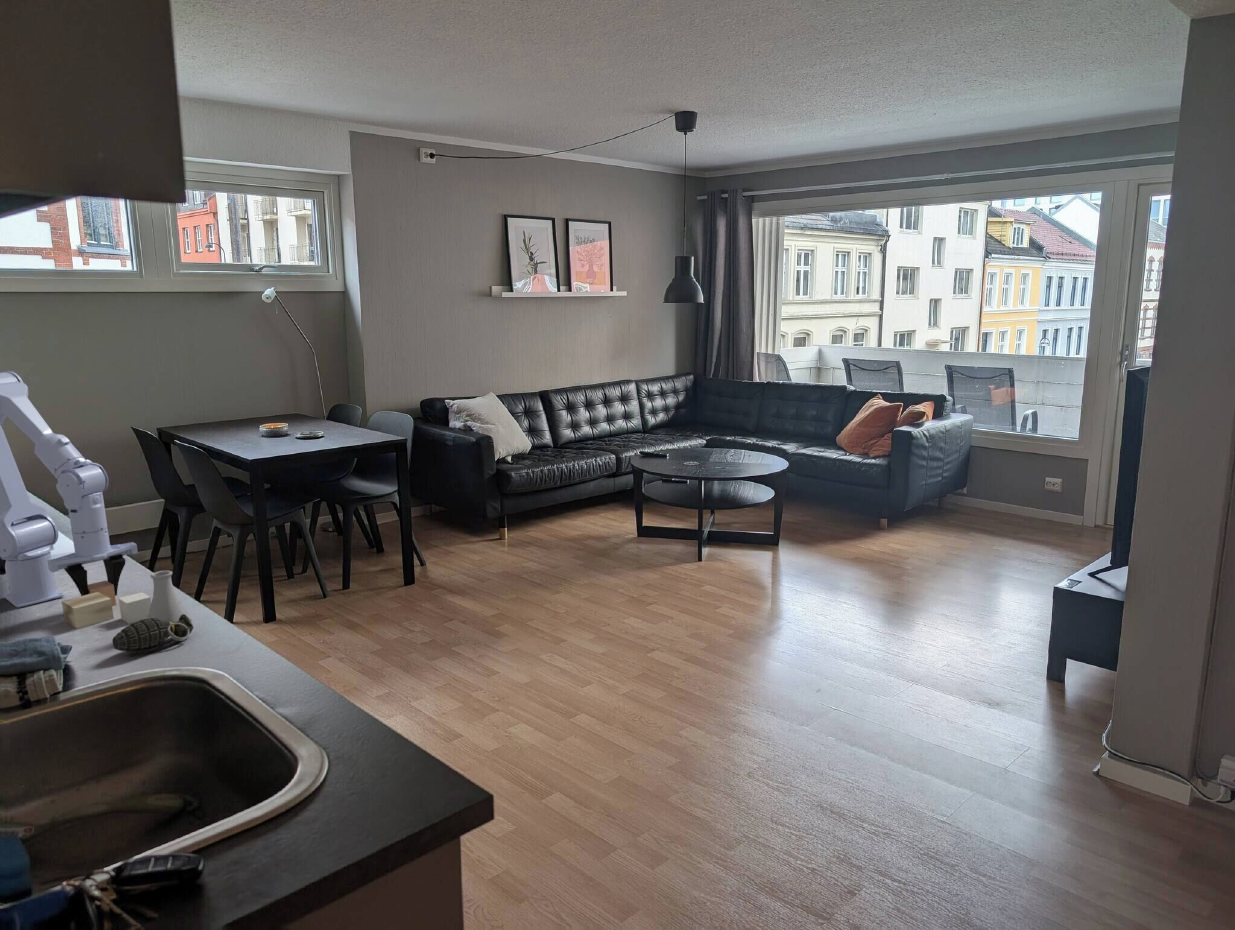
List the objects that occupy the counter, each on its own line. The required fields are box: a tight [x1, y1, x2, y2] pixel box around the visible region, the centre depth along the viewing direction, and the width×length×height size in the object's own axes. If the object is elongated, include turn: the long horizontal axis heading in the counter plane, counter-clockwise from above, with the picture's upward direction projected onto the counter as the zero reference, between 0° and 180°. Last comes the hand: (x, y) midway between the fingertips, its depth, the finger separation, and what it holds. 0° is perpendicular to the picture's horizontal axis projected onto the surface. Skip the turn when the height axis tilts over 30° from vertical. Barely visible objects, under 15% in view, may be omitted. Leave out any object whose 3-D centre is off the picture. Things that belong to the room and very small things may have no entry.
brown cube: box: [88, 579, 117, 606], centre depth 162 cm, size 4×4×4 cm
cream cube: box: [118, 591, 152, 625], centre depth 155 cm, size 4×4×4 cm
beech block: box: [61, 592, 114, 630], centre depth 155 cm, size 6×6×4 cm
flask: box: [147, 570, 193, 622], centre depth 150 cm, size 7×7×10 cm
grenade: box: [111, 614, 194, 657], centre depth 142 cm, size 6×5×12 cm
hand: (100, 598), depth 162 cm, fingers closed on brown cube, 4 cm apart
